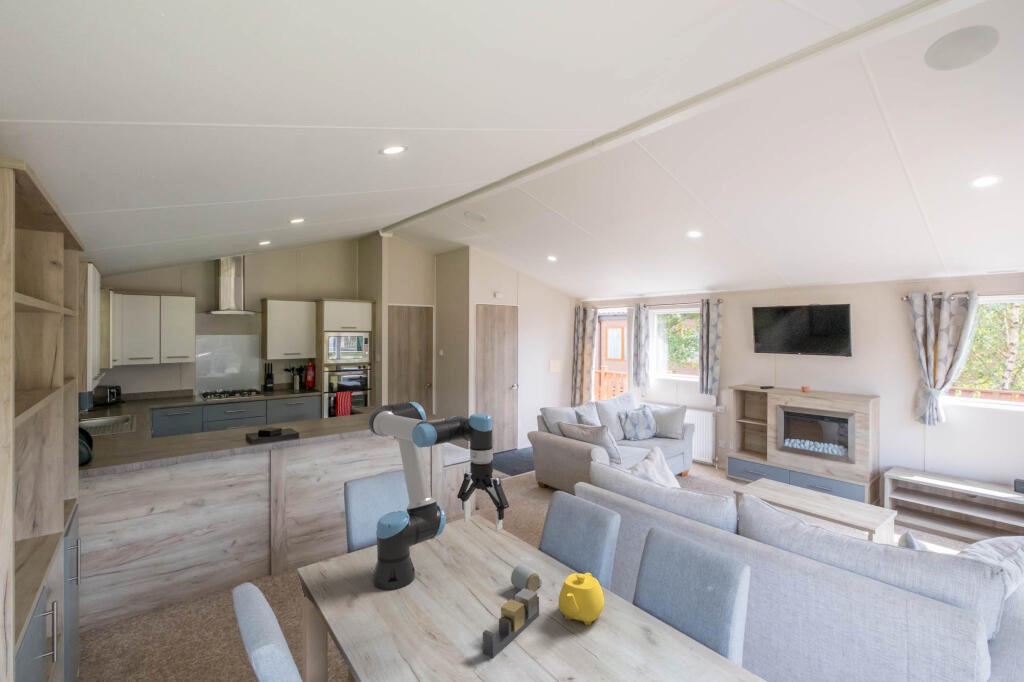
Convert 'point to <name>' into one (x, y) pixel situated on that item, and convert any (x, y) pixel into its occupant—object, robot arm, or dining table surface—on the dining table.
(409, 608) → the dining table surface
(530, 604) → the plain grey cube
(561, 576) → the dining table surface
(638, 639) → the dining table surface
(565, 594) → the teapot
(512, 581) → the ceramic mug
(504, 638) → the rack rail
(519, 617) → the unfinished wooden cube
